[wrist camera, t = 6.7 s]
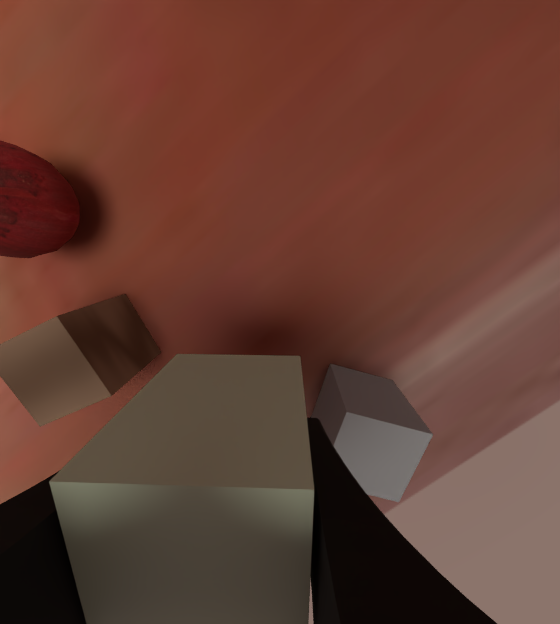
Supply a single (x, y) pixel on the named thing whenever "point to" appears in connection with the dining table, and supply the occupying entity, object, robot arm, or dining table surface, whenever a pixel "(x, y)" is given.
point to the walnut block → (76, 358)
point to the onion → (33, 205)
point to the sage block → (196, 498)
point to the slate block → (372, 429)
